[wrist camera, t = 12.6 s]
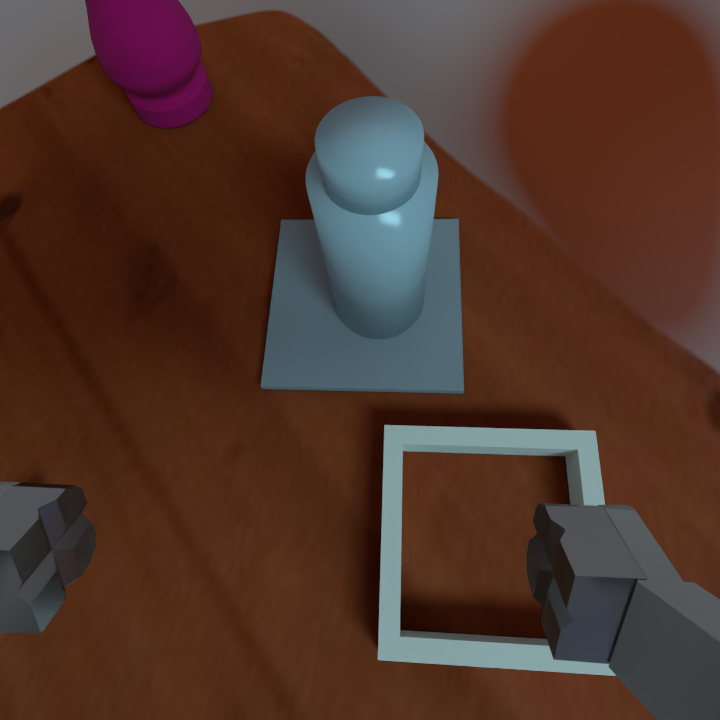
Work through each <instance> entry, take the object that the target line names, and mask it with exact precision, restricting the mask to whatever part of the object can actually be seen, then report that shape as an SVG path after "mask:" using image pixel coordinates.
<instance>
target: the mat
mask: <svg viewBox="0 0 720 720" xmlns="http://www.w3.org/2000/svg"><path fill="white" fill-rule="evenodd" d="M261 387H262V389H291V390H334V391H376V392H419V393H461V394H463V392H464V378H463V347H462V316H461V284H460V253H459V222H458V219H433V227H432V236H431V244H430V253H429V262H428V270H427V279H426V287H425V296H424V304H423V309H422V312H421V314H420V316H419V318H418V320H417V321H416V322H415V324H414V325H413V326H412V327H411V328H409V329H408V330H407V331H405V332H404V333H402V334H400V335H398V336H395V337H392V338H387V339H370V338H365V337H362V336H360V335H357V334H355V333H354V332H352V331H351V330H349V329H348V328H347V327H346V326H345V325H344V324H343V322H342V321H341V319H340V318H339V316H338V314H337V310H336V307H335V303H334V299H333V295H332V291H331V286H330V282H329V278H328V274H327V270H326V266H325V262H324V258H323V254H322V250H321V246H320V242H319V237H318V233H317V229H316V225H315V221H314V220H281V226H280V234H279V242H278V250H277V258H276V266H275V274H274V282H273V290H272V298H271V306H270V314H269V322H268V330H267V338H266V346H265V354H264V362H263V370H262V378H261Z"/></svg>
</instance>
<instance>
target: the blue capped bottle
mask: <svg viewBox="0 0 720 720" xmlns="http://www.w3.org/2000/svg"><path fill="white" fill-rule="evenodd" d="M315 148H316V151H315V152H314V154H313V155H312V157H311V159H310V161H309V164H308V167H307V171H306V189H307V193H308V197H309V201H310V205H311V209H312V213H313V217H314V221H315V225H316V229H317V233H318V237H319V242H320V246H321V250H322V254H323V258H324V262H325V266H326V270H327V274H328V278H329V282H330V286H331V291H332V295H333V299H334V303H335V307H336V310H337V314H338V316H339V318H340V319H341V321H342V322H343V324H344V325H345V326H346V327H347V328H348V329H349V330H351V331H352V332H354V333H355V334H357V335H360V336H362V337H365V338H370V339H387V338H392V337H395V336H398V335H400V334H402V333H404V332H405V331H407V330H408V329H409V328H411V327H412V326H413V325H414V324H415V322H416V321H417V320H418V318H419V316H420V314H421V312H422V309H423V304H424V296H425V287H426V279H427V270H428V262H429V253H430V244H431V236H432V227H433V218H434V210H435V201H436V192H437V184H438V166H437V162H436V159H435V157H434V154H433V152H432V151H431V149H430V148H429V147H428V145H427V144H426V143H425V142H424V130H423V126H422V124H421V121H420V119H419V118H418V117H417V115H416V114H415V113H414V112H413V110H411V109H410V108H409V107H408V106H406V105H404V104H403V103H401V102H399V101H396V100H393V99H390V98H386V97H378V96H368V97H360V98H355V99H352V100H349V101H346V102H344V103H342V104H340V105H338V106H336V107H335V108H333V109H332V110H331V111H330V112H328V113H327V114H326V115H325V117H324V118H323V119H322V120H321V122H320V124H319V125H318V128H317V130H316V134H315Z"/></svg>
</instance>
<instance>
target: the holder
mask: <svg viewBox="0 0 720 720" xmlns="http://www.w3.org/2000/svg"><path fill="white" fill-rule="evenodd" d="M403 451H417V452H447V453H477V454H508V455H538V456H565V458H566V468H567V477H568V487H569V496H570V505H595V506H598V505H605V501H604V493H603V485H602V478H601V470H600V462H599V454H598V447H597V439H596V431H578V430H544V429H509V428H474V427H439V426H405V425H384V456H383V492H382V527H381V563H380V599H379V634H378V660H385V661H400V662H415V663H430V664H445V665H460V666H475V667H490V668H505V669H520V670H535V671H550V672H566V673H581V674H596V675H611V676H616V675H615V673H614V672H613V671H612V670H611V669H610V668H609V667H608V666H609V664H603V663H590V662H578V661H565V660H553V656H552V653H551V650H550V647H549V644H548V641H547V639H537V638H521V637H504V636H488V635H472V634H456V633H439V632H423V631H407V630H400V601H401V531H402V461H403Z"/></svg>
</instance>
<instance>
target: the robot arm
mask: <svg viewBox="0 0 720 720" xmlns="http://www.w3.org/2000/svg"><path fill="white" fill-rule="evenodd" d="M86 505H87V502H86V499H85V496H84V493H83V490H82V489H81V488H79V487H77V486H74V485H60V484H44V483H28V482H22V483H18V482H4V481H0V633H42V632H43V630H44V629H45V627H46V626H47V624H48V623H49V622H50V620H51V619H52V617H53V616H54V614H55V613H56V612H57V610H58V609H59V607H60V606H61V604H62V603H63V602H64V600H65V599H66V597H65V586H67V585H69V584H70V583H72V582H73V581H75V580H76V579H78V578H79V577H81V576H82V574H83V573H84V571H85V569H86V568H87V566H88V565H89V563H90V561H91V558H92V555H93V552H94V549H95V530H94V526H93V523H92V522H91V521H90V520H89V519H88V518H87V517H86V516H85V515H84V514H83V513H82V511H83V509H84V508H85V506H86ZM533 523H534V526H535V528H536V531H537V534H536V535H535V536H534V537H533V538H532V539H531V540H529V544H528V550H527V575H528V580H529V585H530V588H531V592H532V595H533V598H534V599H535V600H536V601H538V602H539V603H540V604H541V605H542V606H543V607H544V610H543V614H542V619H541V623H542V626H543V629H544V632H545V635H546V638H547V641H548V644H549V647H550V650H551V653H552V656H553V660H565V661H578V662H590V663H603V664H609V666H608V667H609V668H610V669H611V670H612V671H613V672H614V673H615V675H616V676H617V677H618V678H619V679H620V680H621V681H622V682H623V683H624V684H625V685H626V687H627V688H628V689H629V690H630V691H631V692H632V693H633V694H634V695H635V696H636V697H637V698H638V700H639V701H640V702H641V703H642V704H643V705H644V706H645V707H646V708H647V709H648V710H649V711H650V713H651V714H652V715H653V716H654V717H655V718H656V719H657V720H720V600H719V599H718V598H716V597H715V596H713V595H712V594H710V593H709V592H707V591H706V590H704V589H703V588H701V587H700V586H698V585H697V584H695V583H690V582H684V581H683V580H682V578H681V577H680V575H679V574H678V572H677V571H676V570H675V568H674V567H673V565H672V564H671V562H670V561H669V559H668V558H667V556H666V555H665V553H664V552H663V550H662V549H661V548H660V546H659V545H658V543H657V542H656V540H655V539H654V537H653V536H652V534H651V533H650V531H649V530H648V528H647V527H646V526H645V524H644V523H643V521H642V520H641V518H640V517H639V515H638V514H637V512H636V511H635V510H634V509H633V508H632V507H630V506H628V505H598V506H595V505H569V504H538V506H537V508H536V510H535V514H534V519H533Z"/></svg>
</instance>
